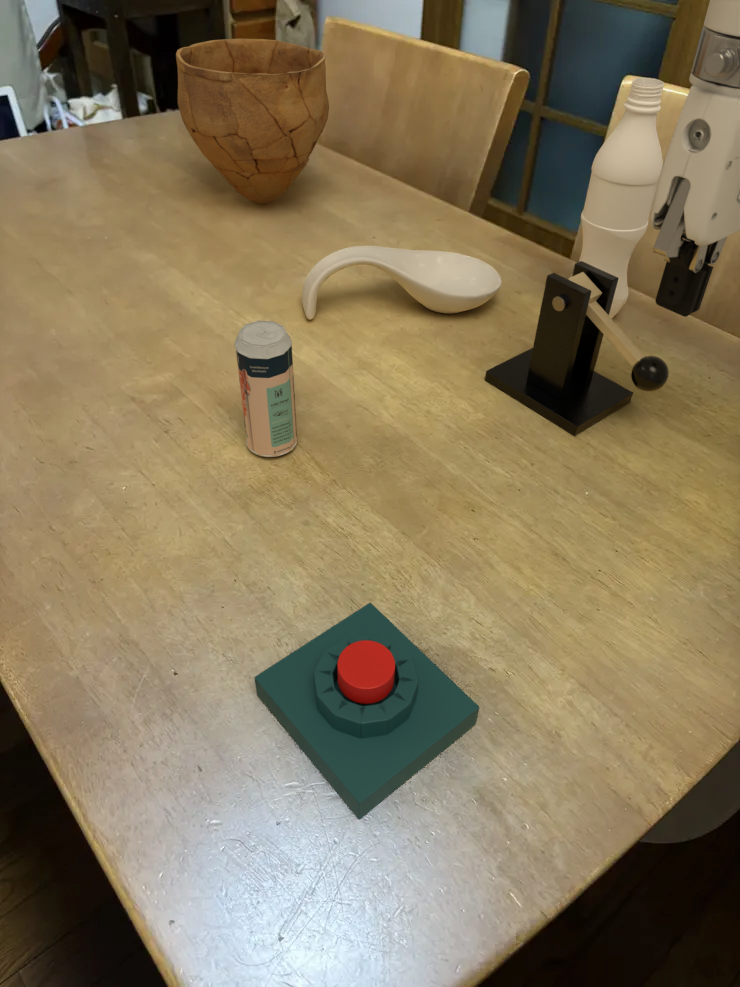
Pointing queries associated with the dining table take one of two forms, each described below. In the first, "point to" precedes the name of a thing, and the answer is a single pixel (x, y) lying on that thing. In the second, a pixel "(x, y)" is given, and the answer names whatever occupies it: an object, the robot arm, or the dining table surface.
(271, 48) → the bowl
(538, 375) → the bracket
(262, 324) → the beer can
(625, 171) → the water bottle
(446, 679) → the button block
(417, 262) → the spoon rest
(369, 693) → the button
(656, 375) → the switch lever
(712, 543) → the dining table surface
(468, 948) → the dining table surface
